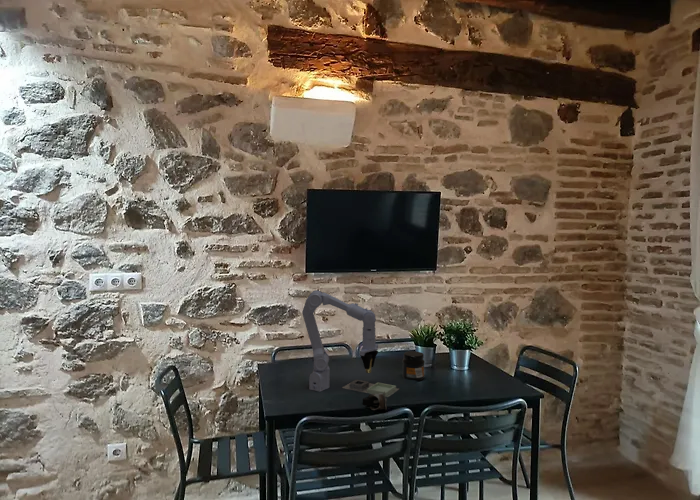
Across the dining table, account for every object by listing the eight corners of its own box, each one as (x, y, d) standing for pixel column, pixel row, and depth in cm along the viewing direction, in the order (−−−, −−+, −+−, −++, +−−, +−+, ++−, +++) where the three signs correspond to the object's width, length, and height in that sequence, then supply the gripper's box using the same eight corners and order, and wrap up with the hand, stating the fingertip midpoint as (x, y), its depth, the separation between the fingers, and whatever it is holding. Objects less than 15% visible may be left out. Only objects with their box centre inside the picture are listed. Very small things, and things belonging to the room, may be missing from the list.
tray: (386, 395, 218) (386, 392, 218) (367, 392, 223) (367, 388, 222) (395, 388, 227) (395, 385, 227) (377, 385, 231) (377, 382, 231)
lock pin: (370, 373, 226) (370, 360, 225) (363, 372, 228) (363, 358, 227) (373, 371, 229) (373, 358, 228) (366, 370, 230) (367, 356, 230)
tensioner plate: (388, 398, 217) (388, 397, 217) (341, 389, 228) (341, 387, 228) (399, 390, 227) (399, 388, 227) (354, 382, 238) (354, 380, 238)
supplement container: (422, 382, 238) (422, 357, 237) (400, 380, 241) (400, 355, 241) (426, 376, 248) (426, 352, 247) (405, 373, 251) (405, 350, 251)
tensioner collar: (362, 389, 226) (362, 386, 226) (349, 386, 230) (349, 383, 229) (369, 384, 232) (369, 381, 232) (356, 382, 235) (356, 379, 235)
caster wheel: (364, 408, 212) (388, 405, 212) (362, 413, 201) (387, 410, 200) (362, 392, 213) (386, 389, 213) (360, 395, 202) (385, 392, 201)
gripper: (369, 342, 219) (369, 373, 219) (384, 335, 231) (383, 364, 232) (355, 340, 222) (355, 371, 223) (370, 333, 235) (370, 362, 236)
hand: (368, 367), depth 228 cm, fingers closed on lock pin, 3 cm apart
